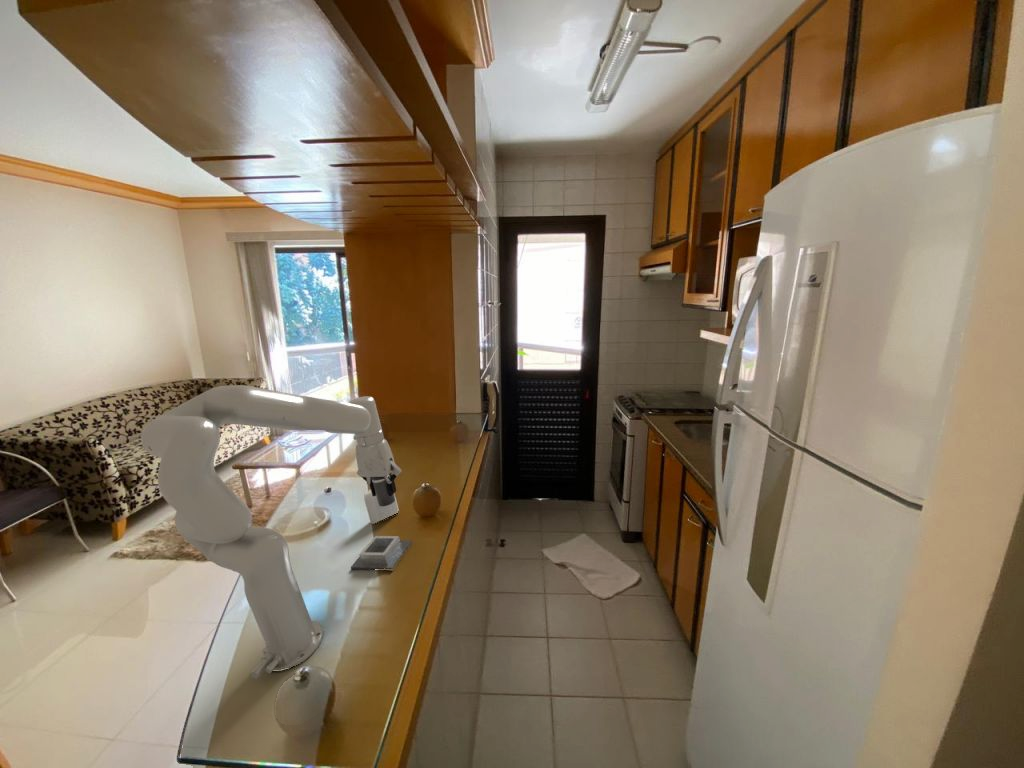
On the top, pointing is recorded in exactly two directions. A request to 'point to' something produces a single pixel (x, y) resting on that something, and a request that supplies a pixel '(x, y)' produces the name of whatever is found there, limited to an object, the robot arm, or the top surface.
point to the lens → (382, 491)
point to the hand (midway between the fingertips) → (384, 493)
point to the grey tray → (381, 553)
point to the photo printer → (378, 508)
